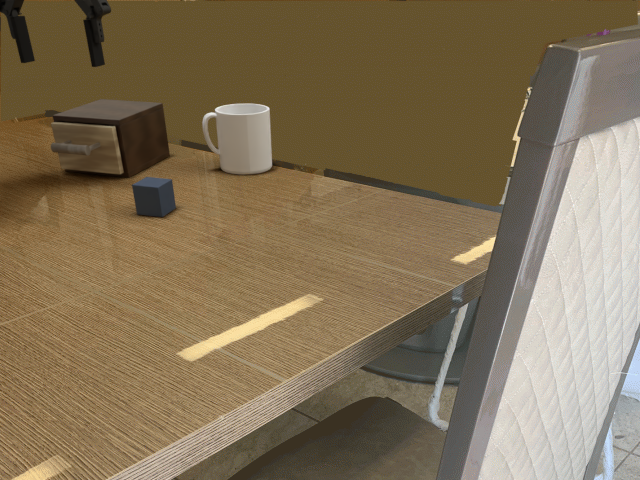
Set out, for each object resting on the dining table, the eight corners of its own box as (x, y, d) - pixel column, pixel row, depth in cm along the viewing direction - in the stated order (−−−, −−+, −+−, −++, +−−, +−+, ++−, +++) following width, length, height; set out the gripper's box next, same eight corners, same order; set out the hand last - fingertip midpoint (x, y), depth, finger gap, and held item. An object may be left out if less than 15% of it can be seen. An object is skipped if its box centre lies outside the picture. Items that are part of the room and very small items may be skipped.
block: (136, 214, 102) (131, 184, 100) (151, 205, 106) (146, 176, 103) (162, 217, 101) (157, 187, 99) (176, 208, 105) (172, 179, 102)
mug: (267, 158, 128) (264, 102, 122) (276, 172, 121) (274, 113, 115) (204, 163, 126) (198, 105, 120) (210, 177, 118) (203, 117, 112)
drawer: (105, 182, 113) (95, 134, 108) (44, 176, 116) (32, 129, 111) (159, 154, 128) (153, 111, 123) (104, 149, 131) (96, 107, 126)
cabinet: (129, 177, 119) (118, 120, 113) (65, 171, 122) (52, 115, 116) (170, 155, 131) (162, 102, 125) (110, 150, 134) (101, 99, 128)
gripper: (-61, -101, 94) (-16, 63, 107) (87, -104, 88) (116, 70, 101) (-25, -99, 100) (14, 57, 113) (116, -101, 94) (140, 64, 107)
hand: (62, 64), depth 107 cm, fingers open, 13 cm apart
